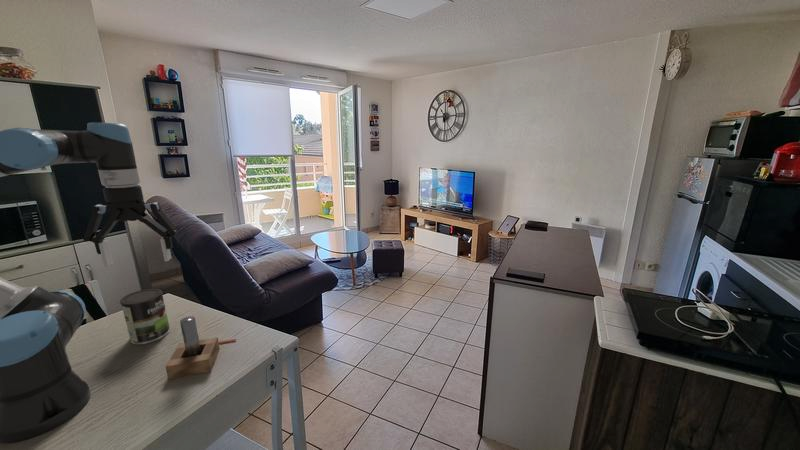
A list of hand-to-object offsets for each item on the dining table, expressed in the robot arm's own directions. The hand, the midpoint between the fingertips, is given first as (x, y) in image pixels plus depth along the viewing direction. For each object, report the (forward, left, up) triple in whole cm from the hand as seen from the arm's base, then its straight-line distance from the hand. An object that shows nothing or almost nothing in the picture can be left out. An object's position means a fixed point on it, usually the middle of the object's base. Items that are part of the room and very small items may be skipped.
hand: (139, 262), depth 85 cm
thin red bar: (+14, -1, -29) cm, 32 cm away
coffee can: (-6, +10, -29) cm, 31 cm away
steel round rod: (+12, -9, -29) cm, 32 cm away
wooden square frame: (+12, -9, -29) cm, 32 cm away
